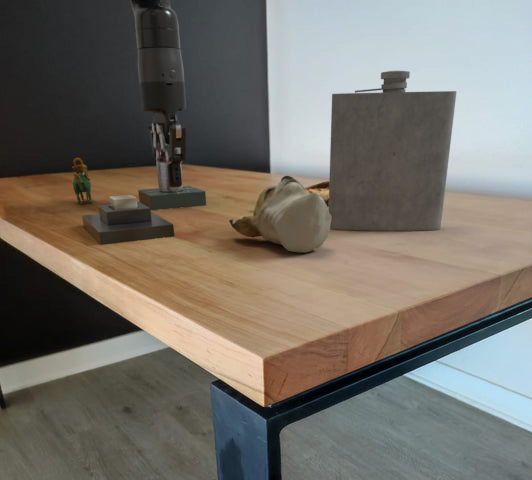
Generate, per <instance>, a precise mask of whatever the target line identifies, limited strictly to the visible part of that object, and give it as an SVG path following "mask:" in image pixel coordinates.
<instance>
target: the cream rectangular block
mask: <svg viewBox="0 0 532 480" xmlns="http://www.w3.org/2000/svg"><path fill="white" fill-rule="evenodd" d="M108 199H109V205H110V208H111V209H112V210H119V209H130V208H138V206H137V202H138V199H137V197H136V196H134V195H132V194H126V195H115V196H114V195H112V196H108Z"/></svg>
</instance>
